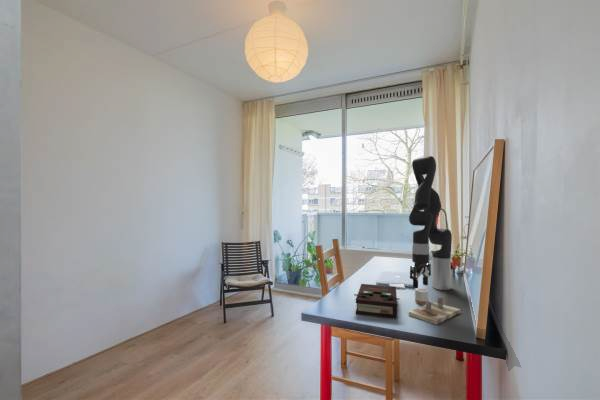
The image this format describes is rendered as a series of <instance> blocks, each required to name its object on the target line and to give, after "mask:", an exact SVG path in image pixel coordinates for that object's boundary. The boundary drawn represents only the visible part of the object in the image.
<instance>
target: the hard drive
mask: <svg viewBox="0 0 600 400" xmlns="http://www.w3.org/2000/svg"><path fill="white" fill-rule="evenodd" d="M388 286H394V287H396V290H406V287H405V283H403V284H391V283H390V284H389V283H388Z"/></svg>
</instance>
